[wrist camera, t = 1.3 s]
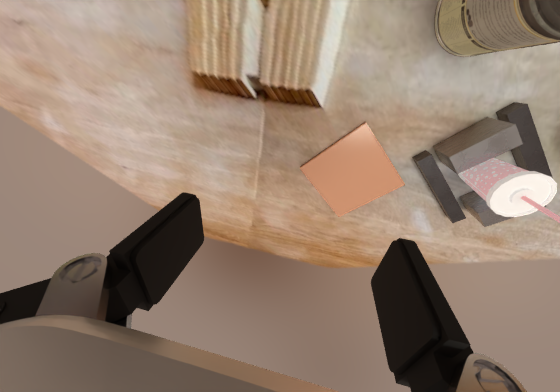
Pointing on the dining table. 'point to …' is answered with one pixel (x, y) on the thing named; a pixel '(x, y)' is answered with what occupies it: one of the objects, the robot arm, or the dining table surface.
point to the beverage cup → (511, 188)
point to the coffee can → (495, 25)
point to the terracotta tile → (352, 171)
